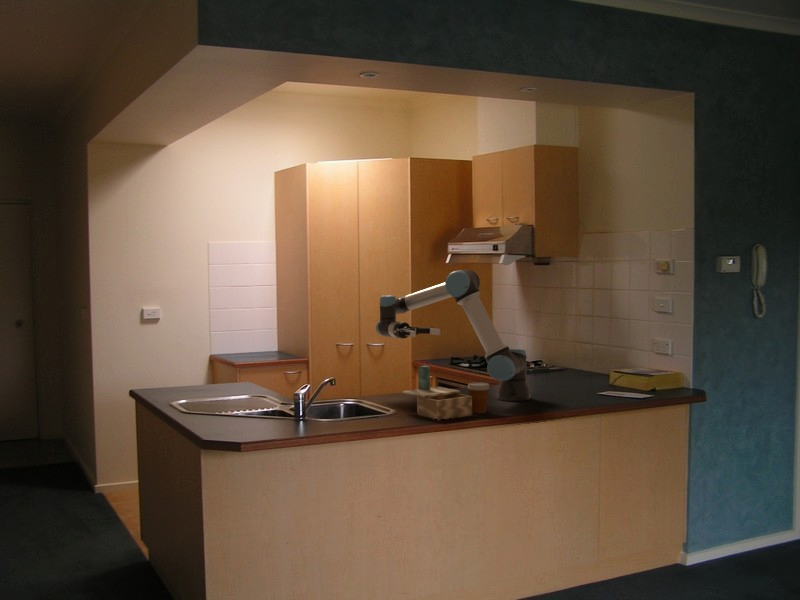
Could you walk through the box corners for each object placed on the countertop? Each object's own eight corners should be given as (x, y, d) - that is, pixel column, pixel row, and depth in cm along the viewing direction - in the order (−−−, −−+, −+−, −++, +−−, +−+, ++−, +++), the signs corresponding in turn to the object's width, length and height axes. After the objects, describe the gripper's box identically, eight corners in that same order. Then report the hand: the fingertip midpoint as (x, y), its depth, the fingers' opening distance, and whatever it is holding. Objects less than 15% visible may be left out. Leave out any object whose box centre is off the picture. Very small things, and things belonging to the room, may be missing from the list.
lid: (438, 388, 371) (438, 363, 371) (459, 392, 359) (459, 367, 358) (402, 392, 360) (402, 367, 360) (424, 397, 348) (423, 371, 347)
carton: (451, 410, 364) (450, 391, 363) (472, 415, 352) (471, 396, 352) (417, 415, 353) (417, 396, 353) (437, 420, 342) (437, 400, 341)
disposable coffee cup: (472, 414, 354) (472, 386, 353) (464, 410, 363) (464, 382, 362) (493, 413, 356) (493, 384, 356) (484, 409, 365) (484, 381, 365)
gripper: (421, 336, 402) (449, 339, 384) (377, 339, 387) (404, 343, 370) (421, 320, 401) (449, 323, 384) (377, 323, 387) (404, 326, 370)
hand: (427, 333), depth 377 cm, fingers open, 13 cm apart
